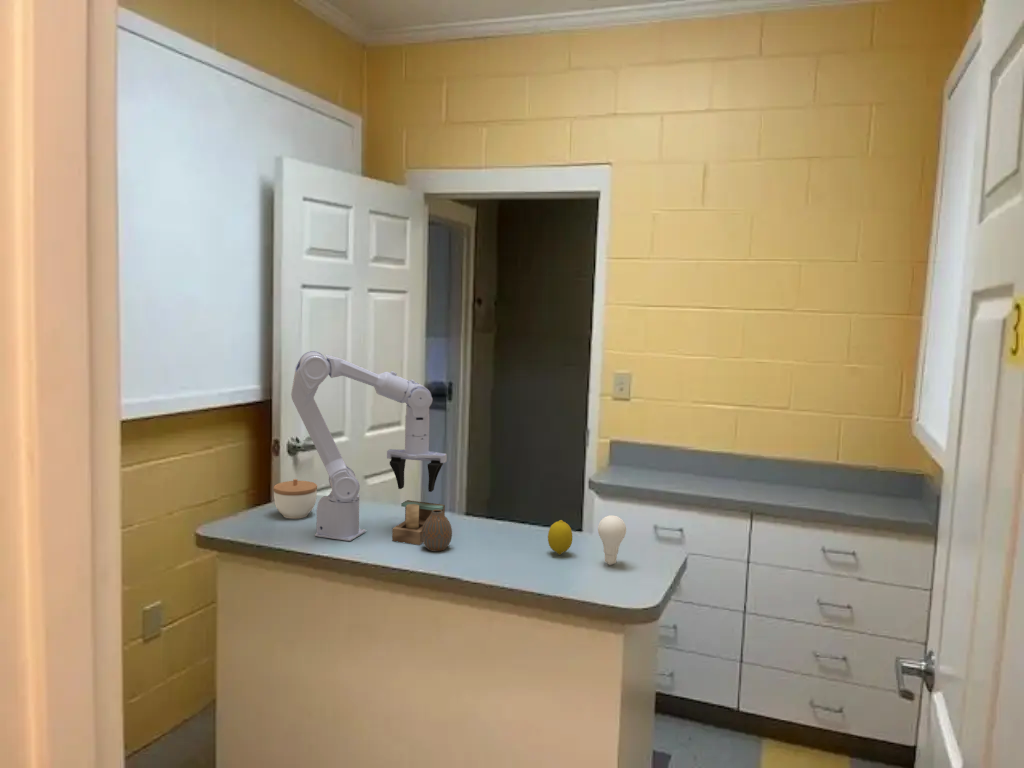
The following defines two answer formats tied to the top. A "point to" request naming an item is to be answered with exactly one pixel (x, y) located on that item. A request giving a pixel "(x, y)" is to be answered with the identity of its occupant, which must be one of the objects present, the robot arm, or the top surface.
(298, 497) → the lidded jar
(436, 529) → the vase
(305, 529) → the top surface
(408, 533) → the brown boxy frame piece
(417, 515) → the oak peg
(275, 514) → the top surface
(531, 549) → the top surface
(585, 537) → the top surface
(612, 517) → the lightbulb
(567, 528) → the lemon
